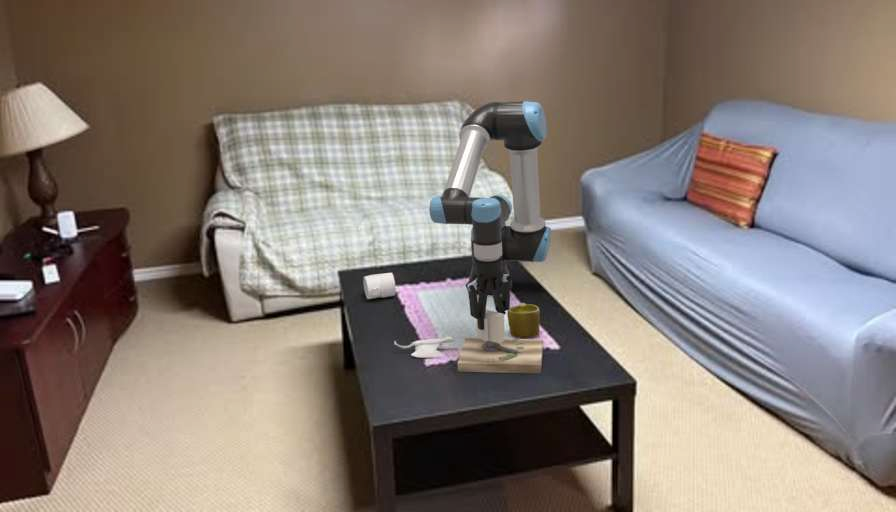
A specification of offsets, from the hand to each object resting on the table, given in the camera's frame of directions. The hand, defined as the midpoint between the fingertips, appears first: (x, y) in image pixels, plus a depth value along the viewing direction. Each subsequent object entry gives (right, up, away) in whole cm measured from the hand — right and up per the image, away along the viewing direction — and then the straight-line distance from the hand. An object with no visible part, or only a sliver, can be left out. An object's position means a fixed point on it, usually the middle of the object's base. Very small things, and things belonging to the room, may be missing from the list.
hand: (491, 337), depth 212 cm
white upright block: (+2, -3, 0) cm, 4 cm away
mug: (+11, 0, +17) cm, 20 cm away
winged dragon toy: (-19, -5, +7) cm, 21 cm away
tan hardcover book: (+3, -6, -1) cm, 7 cm away
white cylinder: (-35, +9, +51) cm, 63 cm away
